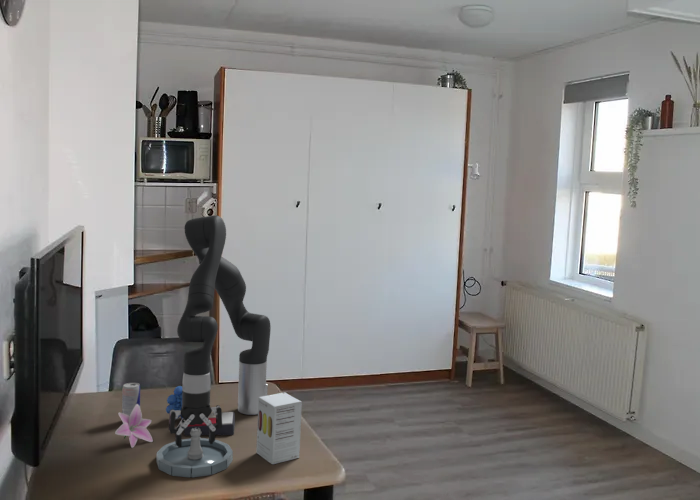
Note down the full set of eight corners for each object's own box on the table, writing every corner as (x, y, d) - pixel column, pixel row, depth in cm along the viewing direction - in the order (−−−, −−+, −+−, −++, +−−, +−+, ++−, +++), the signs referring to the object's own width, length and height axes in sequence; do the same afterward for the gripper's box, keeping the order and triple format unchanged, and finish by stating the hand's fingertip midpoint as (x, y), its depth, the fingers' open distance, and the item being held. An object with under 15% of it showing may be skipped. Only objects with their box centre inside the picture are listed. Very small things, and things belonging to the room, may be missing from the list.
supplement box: (255, 453, 192) (257, 396, 191) (282, 446, 198) (284, 391, 196) (272, 465, 185) (274, 406, 183) (300, 458, 190) (302, 400, 189)
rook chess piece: (188, 453, 187) (188, 426, 186) (204, 454, 188) (205, 426, 187) (185, 460, 183) (186, 432, 182) (202, 460, 183) (202, 432, 182)
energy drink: (142, 419, 214) (143, 383, 213) (135, 425, 209) (136, 388, 208) (126, 418, 215) (127, 381, 213) (119, 424, 209) (119, 386, 208)
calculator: (187, 412, 213) (234, 409, 215) (187, 425, 214) (235, 422, 216) (183, 424, 202) (233, 422, 204) (183, 438, 203) (233, 435, 205)
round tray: (223, 443, 198) (223, 435, 198) (238, 471, 180) (239, 462, 180) (153, 451, 190) (153, 442, 190) (162, 481, 172) (162, 472, 172)
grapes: (197, 412, 223) (198, 377, 222) (203, 418, 217) (204, 383, 216) (162, 417, 217) (162, 381, 216) (167, 424, 211) (168, 387, 210)
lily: (107, 453, 190) (120, 428, 187) (104, 424, 199) (117, 400, 197) (147, 458, 196) (161, 434, 194) (143, 430, 206) (156, 407, 203)
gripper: (219, 382, 189) (218, 437, 191) (167, 385, 184) (166, 442, 185) (225, 390, 182) (223, 447, 184) (171, 394, 177) (170, 453, 179)
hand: (195, 444), depth 185 cm, fingers open, 8 cm apart
